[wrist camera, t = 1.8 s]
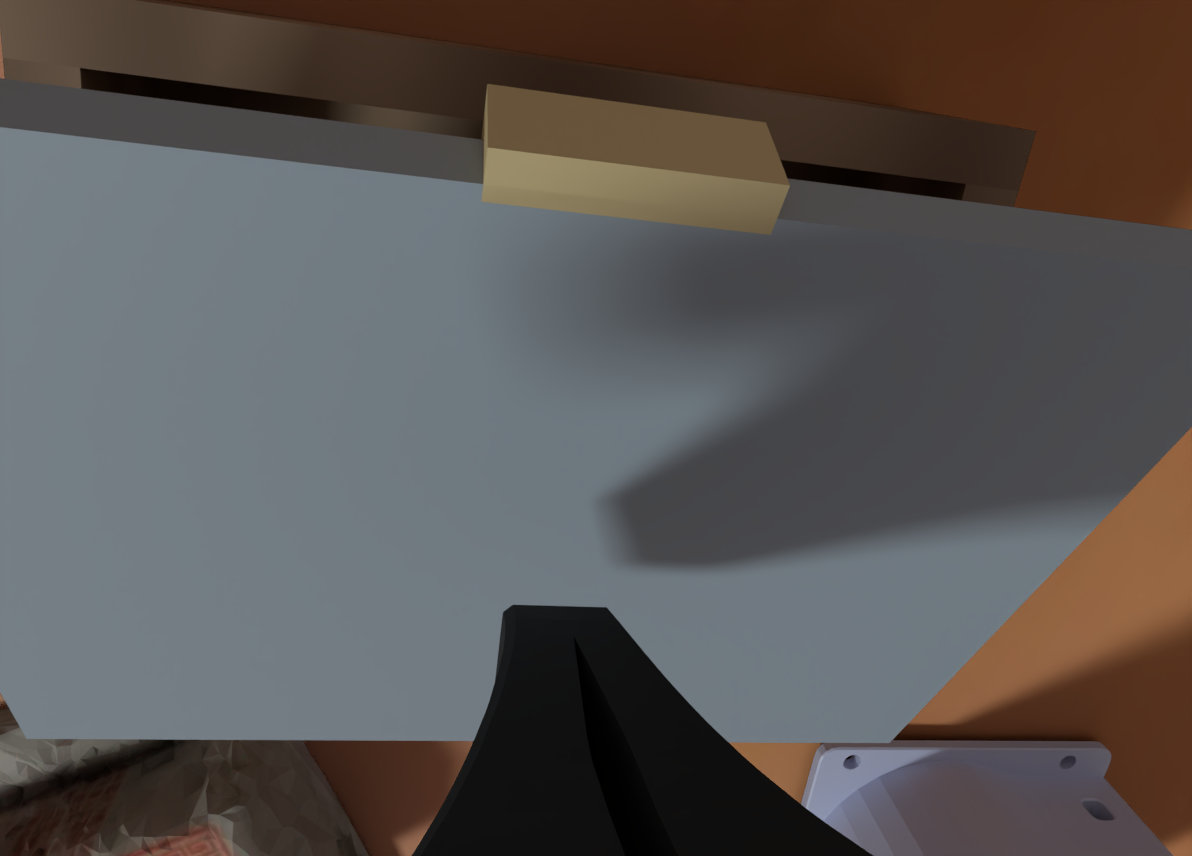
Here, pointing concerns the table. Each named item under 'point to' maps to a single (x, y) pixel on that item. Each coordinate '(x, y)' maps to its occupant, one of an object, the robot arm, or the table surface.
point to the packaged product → (166, 798)
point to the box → (477, 89)
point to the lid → (534, 415)
